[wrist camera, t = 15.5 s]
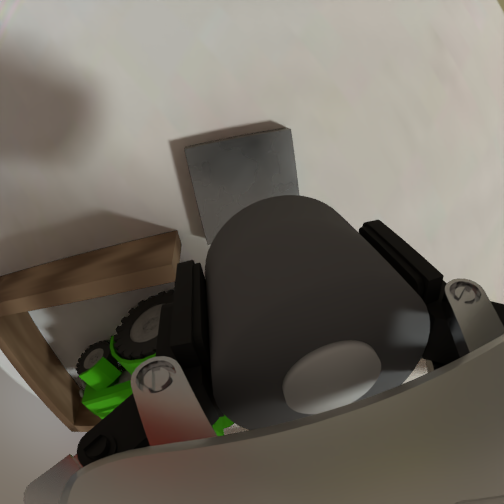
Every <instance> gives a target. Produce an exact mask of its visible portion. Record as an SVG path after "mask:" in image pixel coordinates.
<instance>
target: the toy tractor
mask: <svg viewBox="0 0 504 504" xmlns="http://www.w3.org/2000/svg"><path fill="white" fill-rule="evenodd" d="M173 299H174V290H169V291H168V292H166V293H165V291H163V292H161V293H159V294H158V295H157V296H151V297H149V298H148V300H147V301H145V302H144V301H143V300H142V301H141V302H139V303H138V305H139V306H138V307H137V308H136V309H134V308H132V309H131V310H130V311H129V314H130V315H129V316H128V317H124V318H123V319H122V320H121V322H122V323H123V324H122V326H118V327H117V329H116V332H117V333H118V334H117V335H114V336H111V340H110V344H109V343H108V342H106V341H103V342H102V341H100V342H99V343H95V344H94V345H91V346H89V347H90V348H89V349H86V350H85V353H84V354H83V353H82V355H81V358H79V359H78V362H79V363H77V365H76V366H77V367H78V368H76V370H77V371H78V372H77V373H78V374H79V377H80V378H81V379H82V380H81V385H82V387H83V388H84V389H85V391H84V390H83V389H81V390H80V391H79V393H80V396H81V397H82V398H83V399H82V404H84V405H85V407H86V408H87V409H88V410H90V411H91V412H92V413H93V414H95V415H97V416H99V417H100V418H101V419H104V418H105V417H106V416H107V415H108V414H109V413H111V412H112V411H113V410H114V409H115V408H116V407H117V406H119V405H120V404H121V403H122V402H123V401H124V400H126V399H127V398H128V397H129V396H130V395H131V394H132V393H133V391H132V388H131V377H132V373H133V372H134V371H135V369H136V368H137V367H138V366H139V365H140V364H141V363H142V362H144V361H146V360H148V359H150V358H154V357H155V355H156V346H157V337H158V329H159V320H160V313H161V307H162V305H163V304H167V303H172V302H173ZM117 362H119V363H120V364H121V365H122V366H123V367H124V368H125V369H126V370H127V371H124V372H123V373H122V372H120V371H119V370H118V369H117V368H116V366H117V365H118V363H117ZM233 424H234V422H233V421H231V420H230V419H228V418H227V417H226V416H225V415H224V417H219V419H218V420H217V421H216V422H215V423H214V424H213V426H212V427H213V429H214V430H215V432H216V434H217V436H223V435H224V430H223V429H224V428H227V427H230V426H231V425H233Z"/></svg>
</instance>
